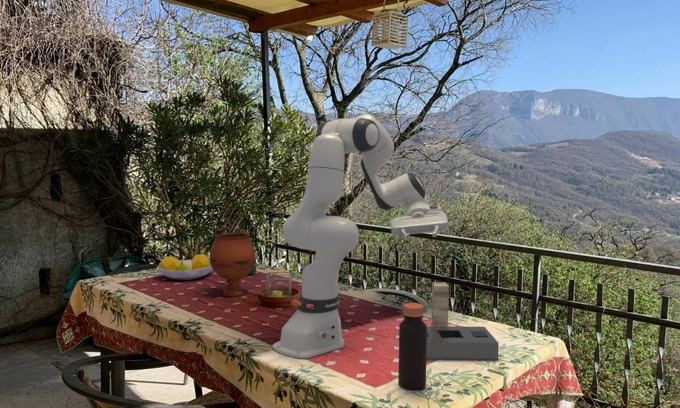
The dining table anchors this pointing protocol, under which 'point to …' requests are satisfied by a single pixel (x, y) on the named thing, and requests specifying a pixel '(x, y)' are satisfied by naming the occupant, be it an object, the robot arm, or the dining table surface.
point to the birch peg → (439, 304)
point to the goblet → (232, 259)
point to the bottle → (412, 348)
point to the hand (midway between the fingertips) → (420, 236)
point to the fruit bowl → (185, 267)
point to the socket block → (460, 343)
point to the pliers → (341, 298)
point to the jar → (252, 271)
